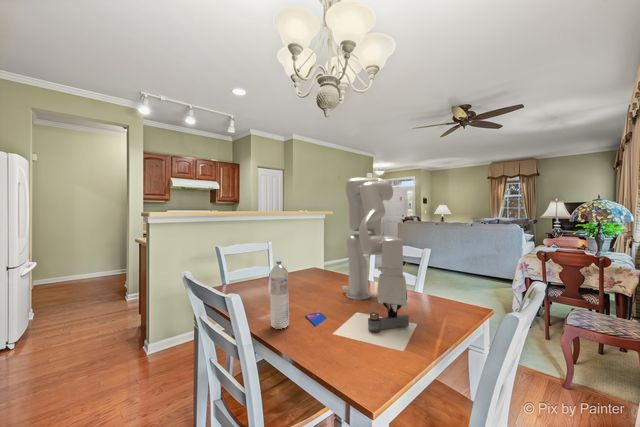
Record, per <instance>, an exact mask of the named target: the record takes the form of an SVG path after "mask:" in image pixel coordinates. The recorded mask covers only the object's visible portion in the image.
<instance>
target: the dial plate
mask: <svg viewBox="0 0 640 427" xmlns="http://www.w3.org/2000/svg"><path fill="white" fill-rule="evenodd" d="M368 318H370V314H367V313H362V312H355V313H354V314H353V315H351V317H350V318H348V319H347V320H346V321H345V322H344V323H343V324H342V325H340V327H338V328H337V329H336V330H335V331H334V332H333V333H332V335H335V336H339V337H343V338H346V339H350V340H355V341H359V342H363V343H367V344H371V345H375V346H378V347H379V346H380V347H383V348H388V349H392V350H395V351H399V352H404V351H405V349H406V347H407V345H408V343H409V341H410V340H411V338H412V336H413V334H414V332H415V329H416V328H417V325H418V323H416V322H410V321H409V326H407V327H399V328H392V329H385V330H381V331H380V332H378V333H373V332H370V331H369V330H368ZM379 318H383V316H379Z"/></svg>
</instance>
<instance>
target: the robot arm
mask: <svg viewBox="0 0 640 427" xmlns="http://www.w3.org/2000/svg"><path fill="white" fill-rule="evenodd" d="M345 193H346V197H347V201H348V212H349V213H348V217H349V219H348V221H349V222H348V223H349V228H350V230H351V231H352V232H358V233H353V234H350V235H348V236H347V238H346V242H345V243H346V248H347V255H348V256H347V258H348V285H342V286H341V287H342V288H341V289H342V291H343V292H345V291H346V294H345V296H346V297H347V298H348V299H350V300H359V301H363V300H368V299H370V298H371V297H372V293H371V292H370V291H369V283H368V282H369V277H368V274H369V272H368V269H369V268H368V267H369V266H368V260H367V258H366V257H365V255H368V256H374V255H375V256H377V255H381V266H378V267H377V271H380V272H381V273H380V274H379V276H378V281H377V282H378V283H377V293H376V294H377V296H376V297H377V303H378V304H381V305H383V306H384V307H385V309H386V310H387V317H391V316H398V311H399V310H400V309H403V308H408V288H407V280H406V276H405V275H404V247H403V246H404V244H403V240H402V238H399V237H396V236H394V235H392V234H382V221H381V220H382V219H381V218H383V217H384V216H385V215H386V208H385V204H384V201H390V200H391V199H392V198H393V195H394V189H393V186H392V184H391V183H390V182H389V181H387V180H386V179H383V178H381V177H353V178H349V179H348V180H347V181H346V183H345ZM369 232H370V233H369ZM363 254H365V255H363Z"/></svg>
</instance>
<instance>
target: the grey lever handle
mask: <svg viewBox="0 0 640 427" xmlns="http://www.w3.org/2000/svg"><path fill="white" fill-rule="evenodd" d="M369 315H370V318H368V330H369V331H370V332H373V333H378V332H380V331H381V330H385V329H392V328H399V327H407V326H409V322H410V321H409V320H410V318H409V315H407V314H400V315H397V316H391V317H388V316H384V317H383V316H382V317H383V318H379V317H380V313H379V312H374V311H372V312H369Z"/></svg>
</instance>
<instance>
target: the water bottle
mask: <svg viewBox="0 0 640 427" xmlns="http://www.w3.org/2000/svg"><path fill="white" fill-rule="evenodd" d="M269 277H270V292H269V294H270V295H269V296H270V297H269V298H270V299H269V300H270V325H271V326H272V327H273V328H277V329H281V330H283V329H282V328H285V329H287V328H288V327H289V326H290V311H289V310H290V309H289V306H290V305H289V304H290V302H289V300H290V299H289V298H290V297H289V271H288V269H287V268H286V267H285V266H284V265H282V260H277V261H276V265H275V266H274V267H272V269H271V270H270V272H269ZM271 326H270V327H271ZM287 326H288V327H287ZM272 327H271V328H272ZM286 327H287V328H286ZM273 328H272V329H273Z"/></svg>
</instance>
